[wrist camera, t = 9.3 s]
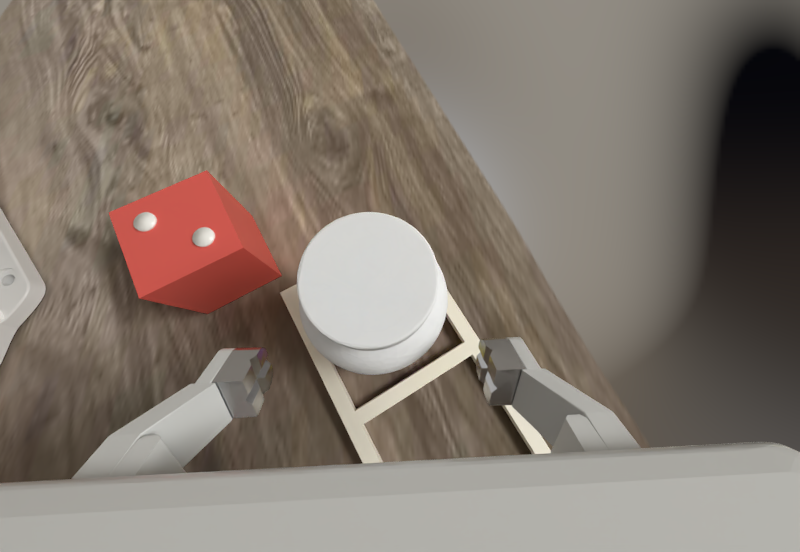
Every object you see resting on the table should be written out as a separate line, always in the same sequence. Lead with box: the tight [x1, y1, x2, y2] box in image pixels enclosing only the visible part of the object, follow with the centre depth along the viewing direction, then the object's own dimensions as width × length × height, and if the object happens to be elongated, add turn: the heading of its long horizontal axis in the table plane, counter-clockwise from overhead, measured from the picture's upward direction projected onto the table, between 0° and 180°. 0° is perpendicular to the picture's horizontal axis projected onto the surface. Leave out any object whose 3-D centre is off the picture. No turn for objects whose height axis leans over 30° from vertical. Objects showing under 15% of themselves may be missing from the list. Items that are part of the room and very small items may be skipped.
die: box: [109, 171, 282, 314], centre depth 19 cm, size 6×6×6 cm
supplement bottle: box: [297, 212, 448, 375], centre depth 15 cm, size 7×7×13 cm
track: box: [280, 284, 551, 463], centre depth 19 cm, size 31×11×1 cm, turn 30°
